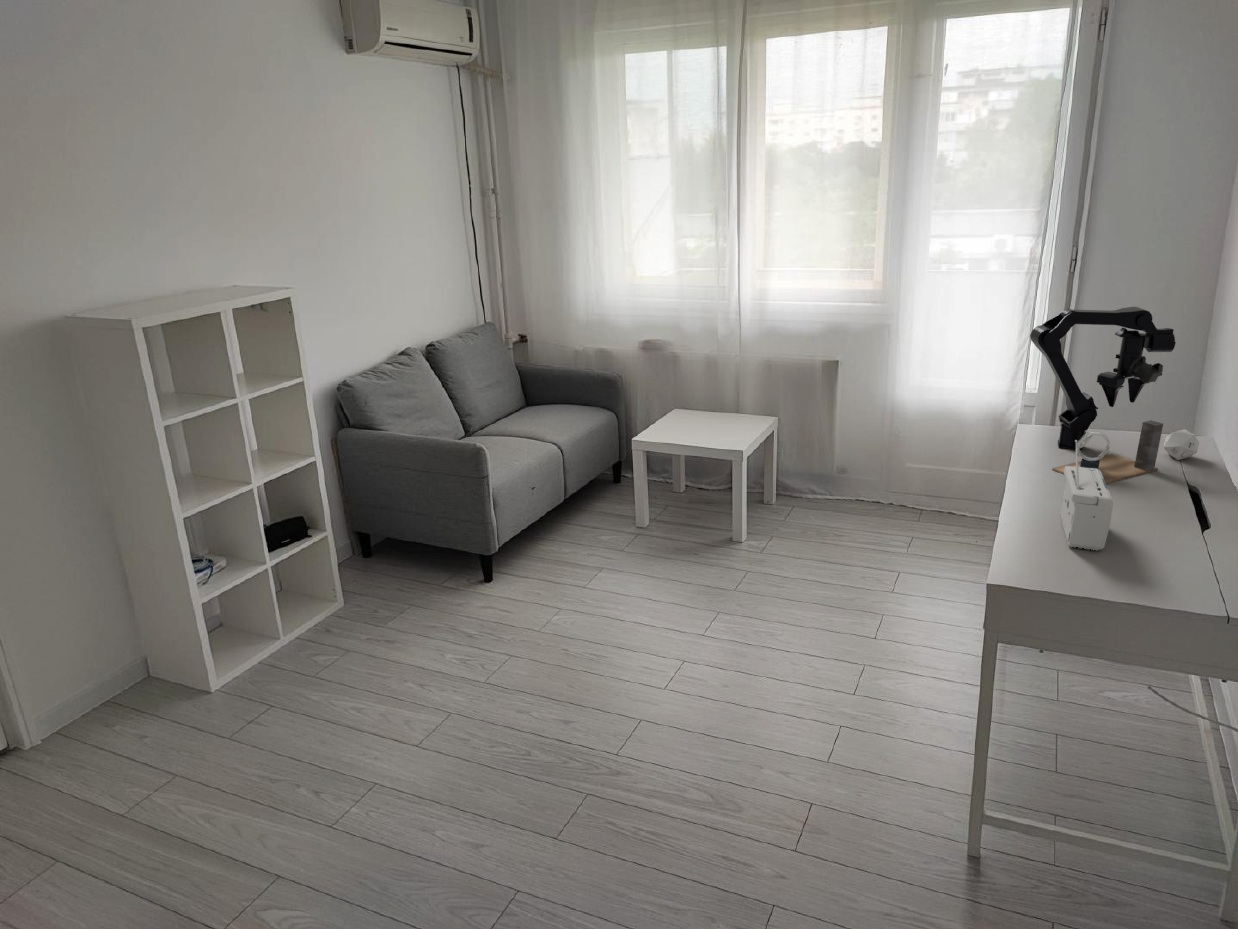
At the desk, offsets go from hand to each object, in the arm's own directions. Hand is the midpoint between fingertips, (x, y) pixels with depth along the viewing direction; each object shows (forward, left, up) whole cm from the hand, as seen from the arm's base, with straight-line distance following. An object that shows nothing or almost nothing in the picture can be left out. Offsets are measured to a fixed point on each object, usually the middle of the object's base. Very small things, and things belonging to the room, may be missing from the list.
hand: (1121, 404), depth 260 cm
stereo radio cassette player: (-13, -72, -13) cm, 74 cm away
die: (+16, -4, -13) cm, 21 cm away
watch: (-9, -27, -13) cm, 31 cm away
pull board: (-4, -23, -13) cm, 27 cm away
